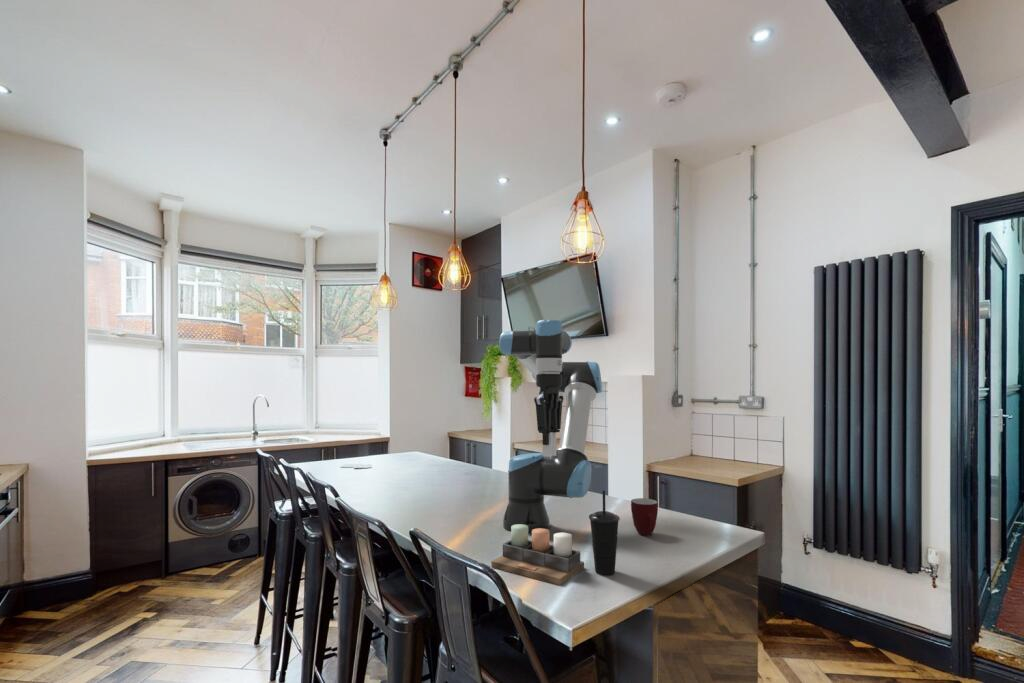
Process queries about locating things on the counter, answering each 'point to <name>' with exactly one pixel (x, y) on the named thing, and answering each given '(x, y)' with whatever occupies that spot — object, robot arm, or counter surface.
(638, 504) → the mug
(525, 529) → the pale green rounded cylinder
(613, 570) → the drinking cup
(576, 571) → the wooden compartment tray
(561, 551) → the button ivory
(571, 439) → the robot arm
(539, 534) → the button terracotta
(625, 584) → the counter surface
